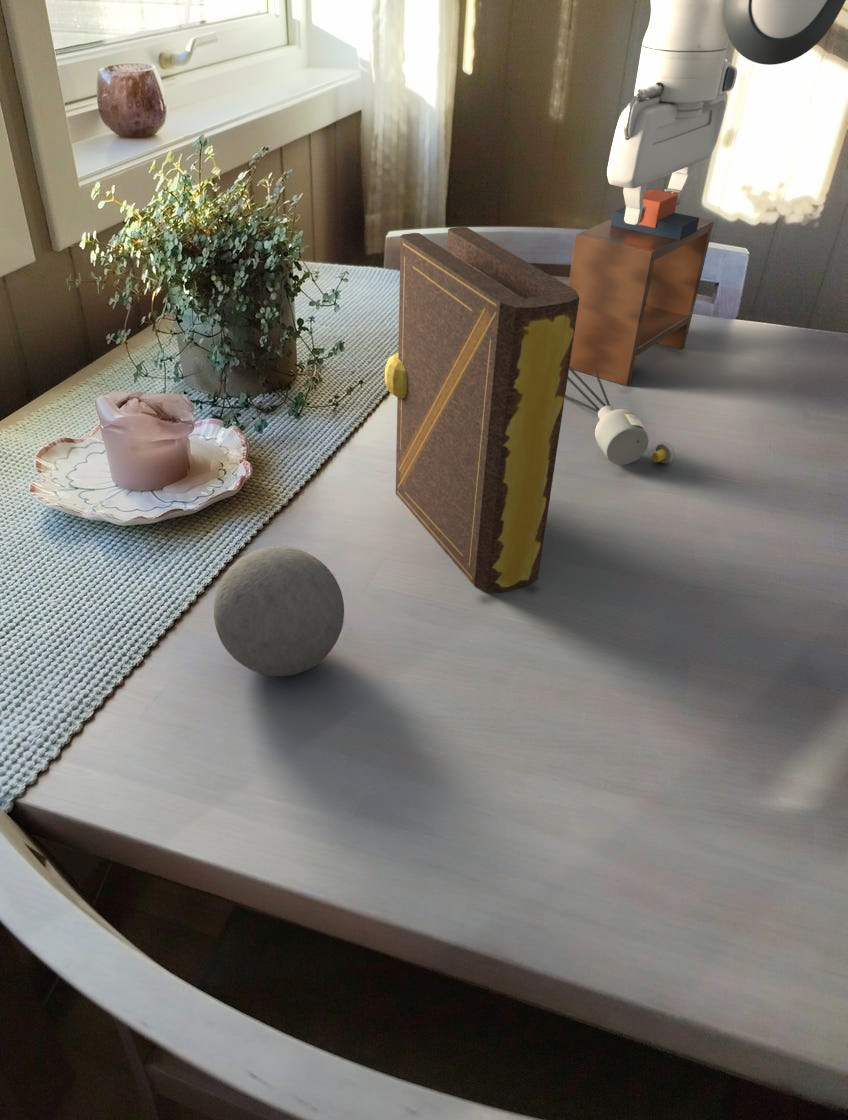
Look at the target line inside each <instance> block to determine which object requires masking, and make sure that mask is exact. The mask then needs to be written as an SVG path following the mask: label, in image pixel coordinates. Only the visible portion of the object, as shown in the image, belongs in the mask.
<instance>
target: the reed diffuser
mask: <svg viewBox="0 0 848 1120" xmlns="http://www.w3.org/2000/svg"><path fill="white" fill-rule="evenodd" d="M569 371H570V373H572V374H573V375H574V376H575V378H576V379H577V380H578V381H579V382H580V383H581V384H582V385H583V386H584V387H585V389H586V390H588V392H589V393H590V394H591V395H592V396H593V397H594V398H595V399H596V400H597V401H598V402H599V404H601V406H602V407H601V408H600V407H599V406H598V405H597V404H596V403H595V402H594V401H593V400H592V399H591V398H590V397H589V396H588V395H587V394H586V393H585V392H584V391H583V390H582V389H581V388H580V387H579V386H578V385H577V383H576V382H574V381H573V380H572V379H571V378H570V377H569V376H568V379H567V381H568V382H569V383H570V384H571V385H572V386H573V387H574V388H575V389H576V390H577V391H578V392H579V393H580V394H581V395H582V397H584V398H585V399H586V400H587V401H588V402H589V403H590V405H592V406H590V405H589V404H587V403H584V402H582V401H580V400H577V399H575V398H573V397H571V396H569V395H566V394H565V399H568V400H569V401H572V402H574V403H576V404H578V405H581V406H583V407H585V408H587V409H589V410H592V411H594V412H596V413H597V418H598V422H597V424H596V426H595V430H594V437H595V440H596V442H597V445H598V446H599V448H600V450H601V451H602V453H603V454H604V455H605V456H606V458H607V459H608V460H609V461H610V462H611V463H612V464H615V465H617V466H626V465H629V464H632V463H634V462H636V461H637V460H638V459H640V458H641V457H642V456H643V455H644V454H645V452H646V450H647V449H648V446H649V442H650V441H649V435H648V433H647V432H646V427H645V426H644V424H643V423H642V421H641V419H640V418H639V417H638V416H637V415H635V414H634V413H633V412H632V411H631V410H628V409H624V408H618V409H614V408H615V407H613V406H611V403H610V401H609V399H608V396H607V394H606V391H605V388H604V387H603V383H602V380H601V378H599V376H598V373H597V371H596V370H594V372H595V375H596V376H595V378H596V379H597V382H598V385H599V387H600V390H601V392H602V395H603V397H604V400H605V403H604V402H603V400H602V399H601V398H600V397H599V396H598V394H596V393H595V392H594V391H593V390H592V389H591V387H590V386H589V385H588V384H587V383H586V382H585V381H584V380H583V379H582V378H581V377H580V376H579V374H578V373H577V372H576V371H575V370H573V369H572V368H571V367H570V366H569ZM654 450H655V451H654V452H653V453H652V454H651V459H652V461H653V462H654V463H662V464H668V463H670V462H672V461H673V460H674V459H675V457H676V450H675V447H674V446H673V445H672V443H670V442H668V441H664V442H662V443H660V444H658V445H657V446H656V447H655V449H654Z"/></svg>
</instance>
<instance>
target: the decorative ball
mask: <svg viewBox="0 0 848 1120" xmlns="http://www.w3.org/2000/svg"><path fill="white" fill-rule="evenodd" d="M344 602H345V601H344V598H343V593H342V590H341V587H340V585H339V583H338V580H337V579H336V577H335V575H334V574H333V573H332V571H331V570H330V569H329V568H328V566H327V565H325V564H324V563H323V561H321V560H320V559H319V558H317V557H316V556H314V555H313V554H311V553H309V552H308V551H305V550H303V549H299V548H296V547H293V546H288V545H287V546H286V545H270V546H266V547H261V548H258V549H256V550H253V551H250V552H248V553H247V554H245V555H243V556H242V557H240V558H239V559H238V560H236V561H234V563H233V564H232V565H231V566H230V567H229V569H228V570H227V571H226V573H225V574H224V575H223V577H222V578H221V580H220V582H219V585H218V587H217V589H216V592H215V595H214V600H213V620H214V621H213V622H214V627H215V629H216V633H217V637H218V638H219V640H220V642H221V644H222V646H223V647H224V649H225V650H226V651H227V652H228V654H229V655H230V656H231V657H232V658H233V659H234V660H235V661H236V662H237V663H239V664H241V665H242V666H243V667H244V668H246V669H249V670H250V671H253V672H256V673H259V674H262V675H265V676H273V677H285V676H287V677H288V676H293V675H297V674H300V673H303V672H305V671H308V670H310V669H311V668H313V667H314V666H316V665H318V664H319V663H320V662H322V661H323V660H324V659H325V658H326V657H327V656H328V654H330V653H331V651H332V650H333V648H334V647H335V645H336V643H337V642H338V640H339V637H340V635H341V632H342V629H343V626H344V619H345V603H344Z"/></svg>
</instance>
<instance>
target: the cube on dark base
mask: <svg viewBox="0 0 848 1120" xmlns="http://www.w3.org/2000/svg"><path fill="white" fill-rule="evenodd" d="M677 198H678V194H673V193H668V192H664V191H661V190H656V189H648V190H646V192H645V193H643V206H646V211H645V214H644V220H643V221H642V222H640V223H638V224H636V225H632V224H628V223H626V222H625V221H624V217H625V211H626V205H625V206H623V207H621V208H619V209H617V210H614V211H613V212H612V216H611V219H612V221H611V226H614V227H619V228H623V229H628V230H633V231H637V232H642V233H647V234H652V235H656V236H661V237H666V238H670V239H675V240H681V239H683V238H685V237H687V236H689V235H691V234H693V233H695V232H696V231H697V227H698V222H699V218H700V217H698V216H692V215H688V214H683V213H678V212H676V207H677V206H676V203H677Z"/></svg>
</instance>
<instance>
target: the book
mask: <svg viewBox="0 0 848 1120" xmlns="http://www.w3.org/2000/svg"><path fill="white" fill-rule="evenodd" d="M399 243H400V244H399V245H400V246H399V248H400V249H399V293H398V294H399V297H398V298H399V301H398V347H397V348H398V349H397V350H398V351H397V352H395V353H394V354H393V355H391V356H390V357H389V358H388V359H387V361H386V364H385V368H384V383H385V387H386V389H387V391H388V392H389V393H390V394H391V395H393V396H394V397H396V398H397V399H396V401H397V402H396V403H397V404H396V448H395V449H396V451H395V452H396V454H395V456H396V459H395V495H396V496H397V497H398V499H400V500H401V502H402V504H404V505H405V506H406V508H407V509H408V510H409V511H410V513H412V514H413V516H414V517H415V518H416V519H417V520H418V522H419V523H420V524H421V525H422V526H423V528H424V529H425V530H426V532H428V533H429V535H430V536H431V537H432V538H433V539H434V541H435V542H436V543H437V544H438V545H439V547H440V548H441V549H442V550H443V551H444V553H446V555H447V556H448V557H449V558H450V559H451V561H452V562H453V563H454V565H456V566H457V568H458V569H459V570H460V571H461V572H462V573H463V574H464V576H465V577H466V578H467V579H468V580H469V582H470V583H471V584H472V585H473V587H475V588H478V590H479V589H480V590H481V591H483V592H485V593H505V592H509V591H512V590H516V589H521V588H524V587H528V586H530V585H531V584H532V583H534V582H535V581H537V580H538V579H539V575H540V569H541V560H542V553H543V547H544V541H545V534H546V527H547V521H548V514H549V507H550V501H551V494H552V488H553V487H552V486H553V482H554V481H553V480H554V473H555V466H556V460H557V459H556V458H557V452H558V446H559V438H560V432H561V427H562V426H561V425H562V420H563V419H562V418H563V412H564V407H565V406H564V405H565V400H566V398H565V395H566V392H567V385H568V377H569V371H570V370H569V366H570V359H571V352H572V345H573V339H574V332H575V325H576V318H577V311H578V305H579V298H580V297H579V295H578V293H577V291H576V290H574V289H573V288H571V287H569V284H566V283H564V282H563V281H561V280H559V279H557V278H555V277H554V276H551V275H550V274H548V273H547V272H545V271H544V270H542V269H541V268H538V267H537V266H535V265H533V264H531V263H530V262H528V261H526V260H524V259H523V258H521V257H520V256H517V255H516V254H514V253H513V252H510V251H509V250H508V249H505V248H504V247H502V246H501V245H499V244H497V243H496V242H493V241H491V240H490V239H488V238H487V237H484V235H481V234H480V233H478V232H476V231H474V230H472V229H471V228H469V227H467V226H457V227H450V228H448V229H447V244H446V249H445V248H443V247H441V246H440V245H439V244H437V243H435V242H434V241H432V240H431V239H429V238H428V237H426V236H424V234H421V233H419V232H409V233H403V234H401V235H400V242H399Z"/></svg>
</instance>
